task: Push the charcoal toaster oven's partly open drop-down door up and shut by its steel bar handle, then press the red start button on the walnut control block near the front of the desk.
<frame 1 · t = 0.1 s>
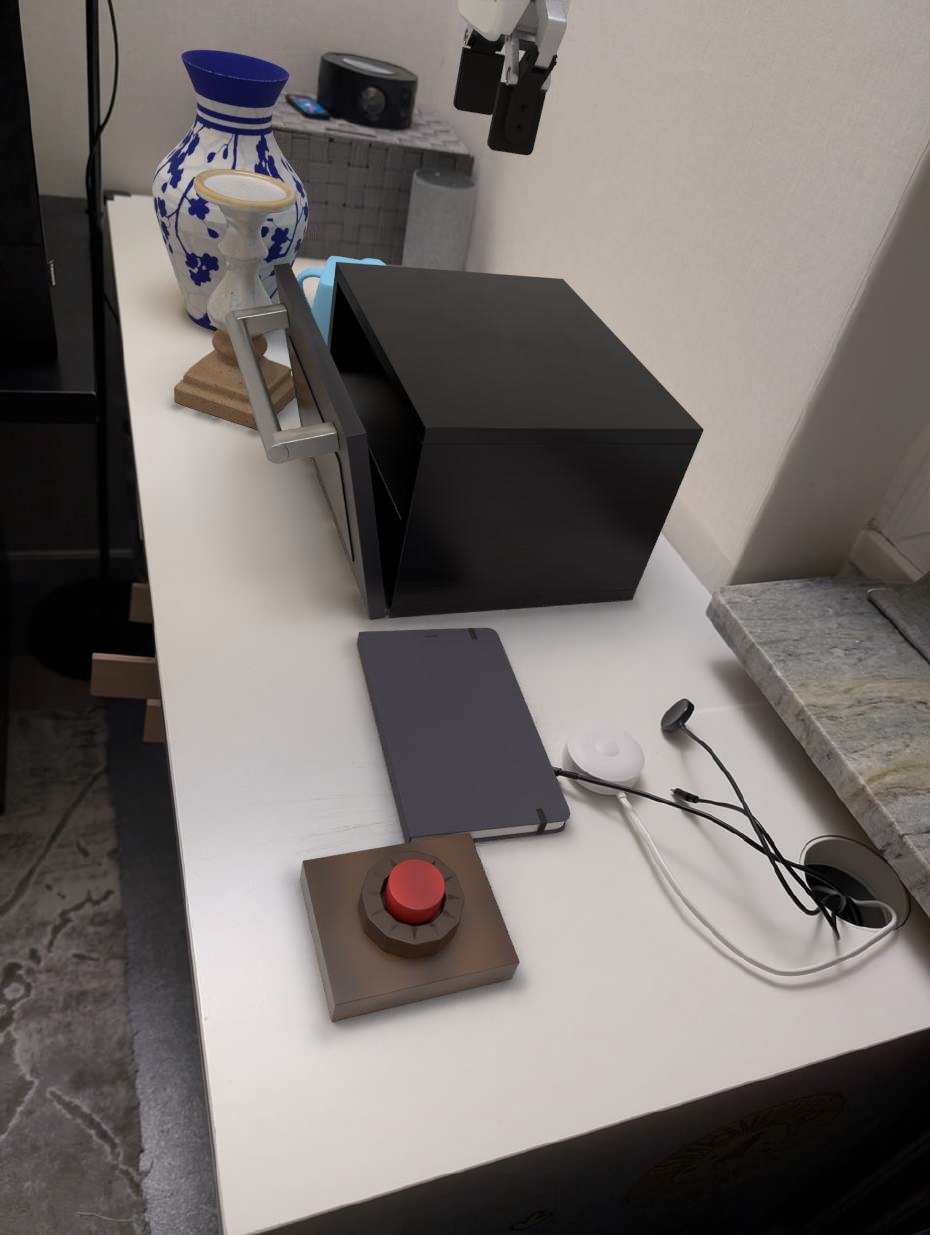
hand: (490, 130, 65), 39 cm above the table, tool pointing down, fingers open, 9 cm apart
oven: (465, 511, 98), on the table
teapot: (372, 366, 120), on the table
notebook: (454, 732, 74), on the table
start button: (414, 891, 57), point 4 cm above the table, slide at 0.1 cm
oven door: (297, 438, 85), point 9 cm above the table, hinge at 12.9°
control block: (403, 927, 60), on the table
vase: (229, 316, 122), on the table
candle holder: (237, 398, 107), on the table
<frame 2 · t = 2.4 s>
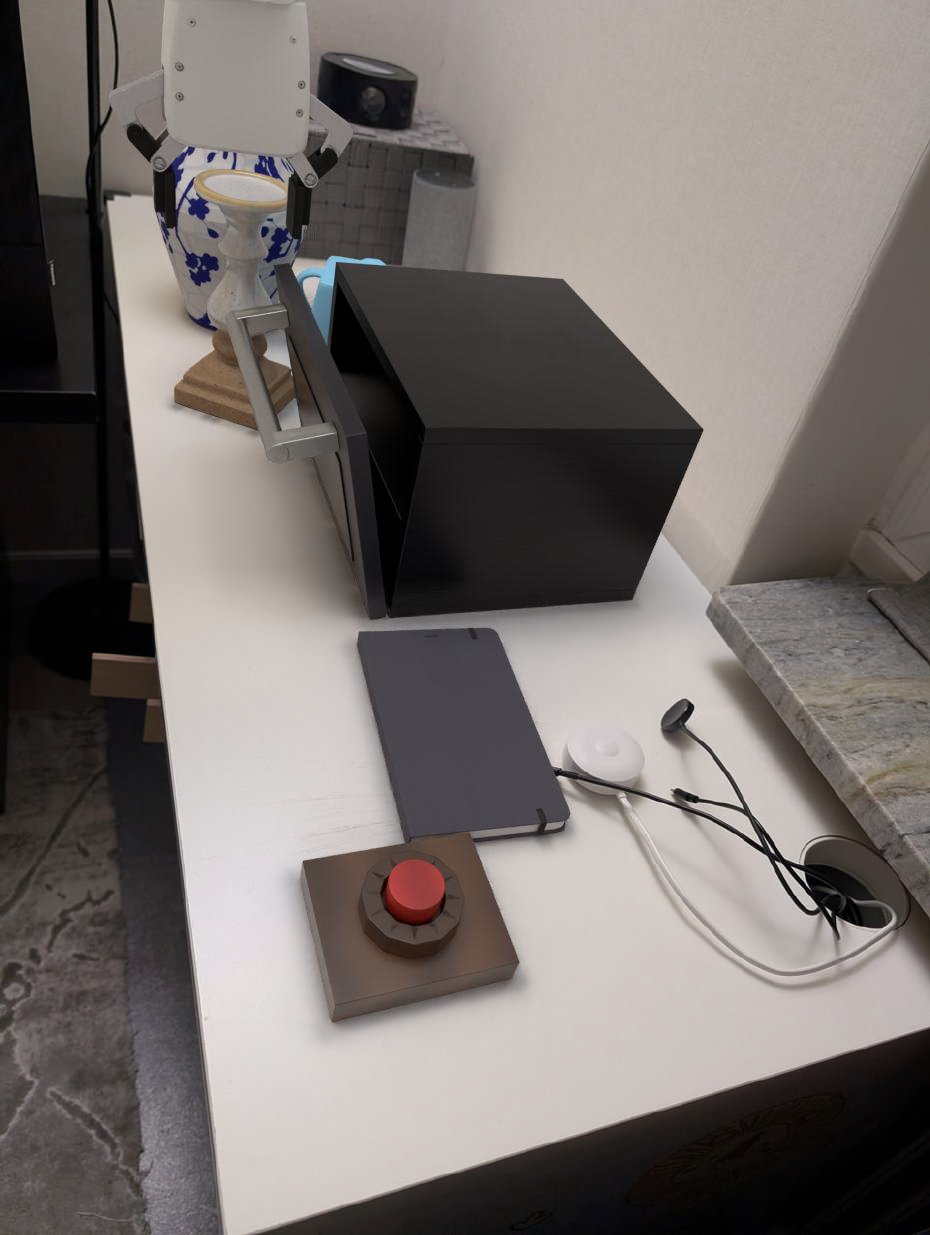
hand: (232, 227, 70), 28 cm above the table, tool pointing down, fingers open, 9 cm apart
nothing on the table moved.
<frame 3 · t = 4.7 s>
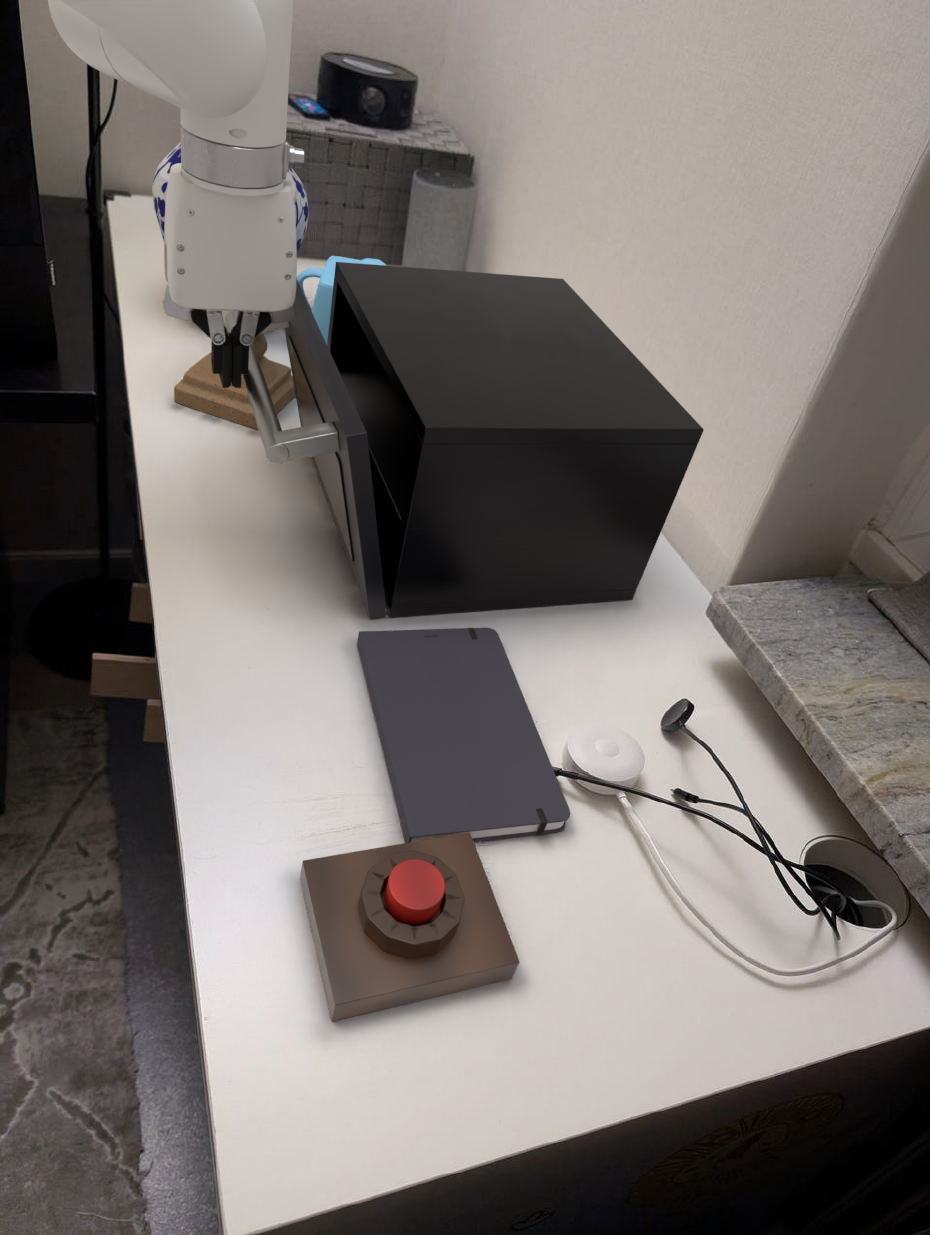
hand: (229, 379, 79), 15 cm above the table, tool pointing down, fingers closed
oven door: (297, 438, 85), point 9 cm above the table, hinge at 12.8°, touching gripper
everything else where it was.
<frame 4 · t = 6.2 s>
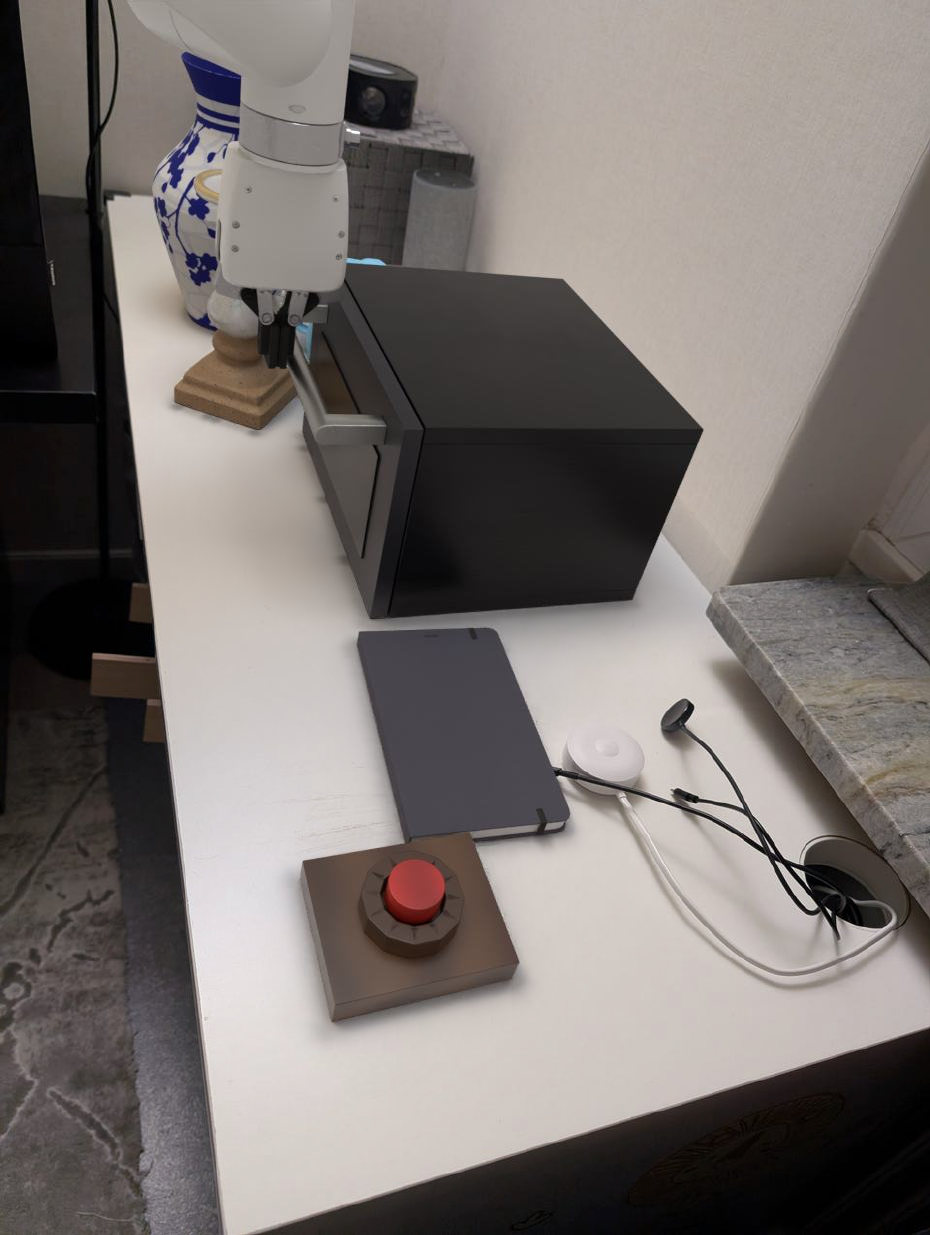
hand: (274, 361, 79), 17 cm above the table, tool pointing down, fingers closed
oven door: (320, 430, 85), point 10 cm above the table, hinge at -0.4°, touching gripper
everything else where it was.
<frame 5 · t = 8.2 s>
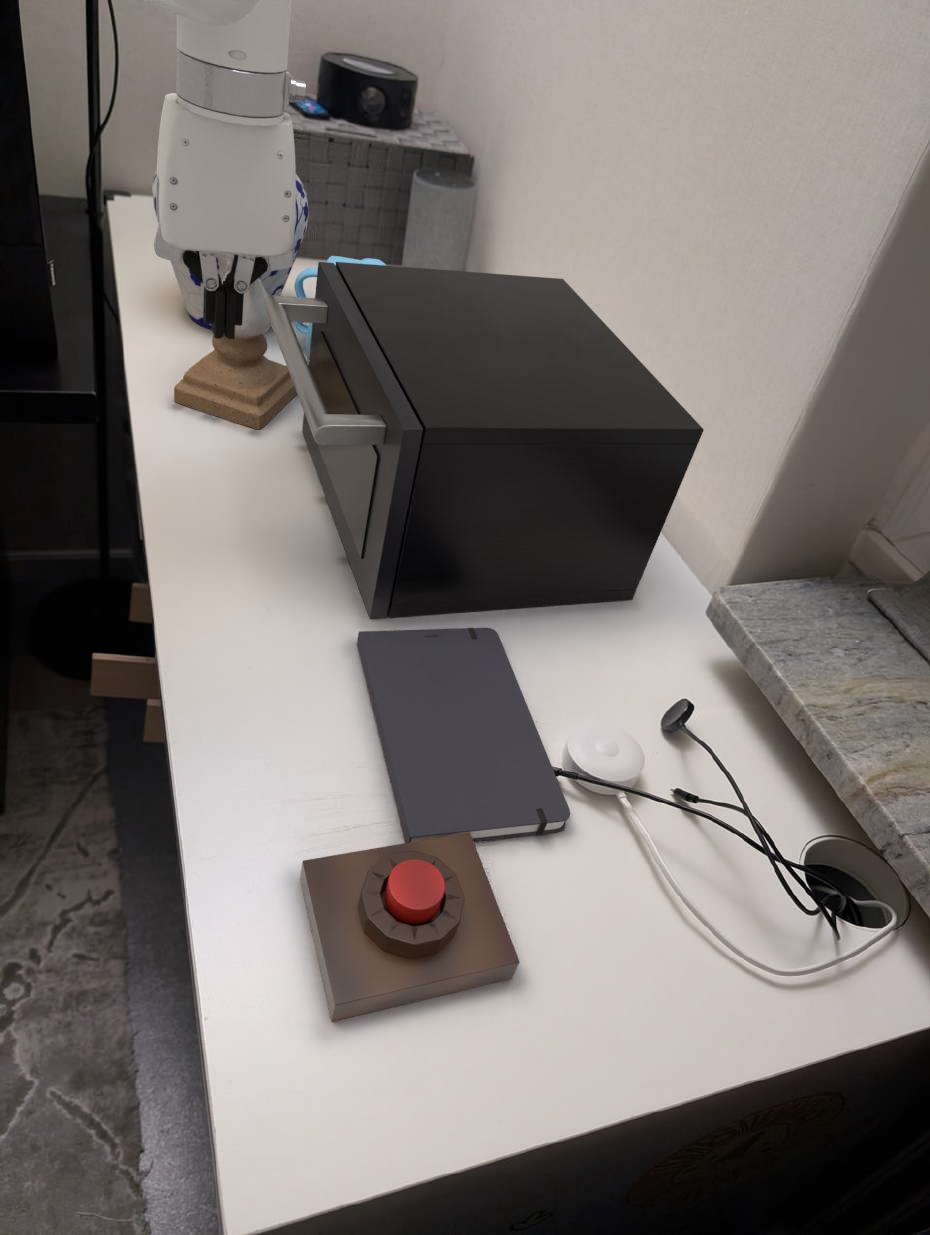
hand: (222, 331, 75), 20 cm above the table, tool pointing down, fingers closed
oven door: (320, 430, 85), point 10 cm above the table, hinge at -0.2°
everything else where it was.
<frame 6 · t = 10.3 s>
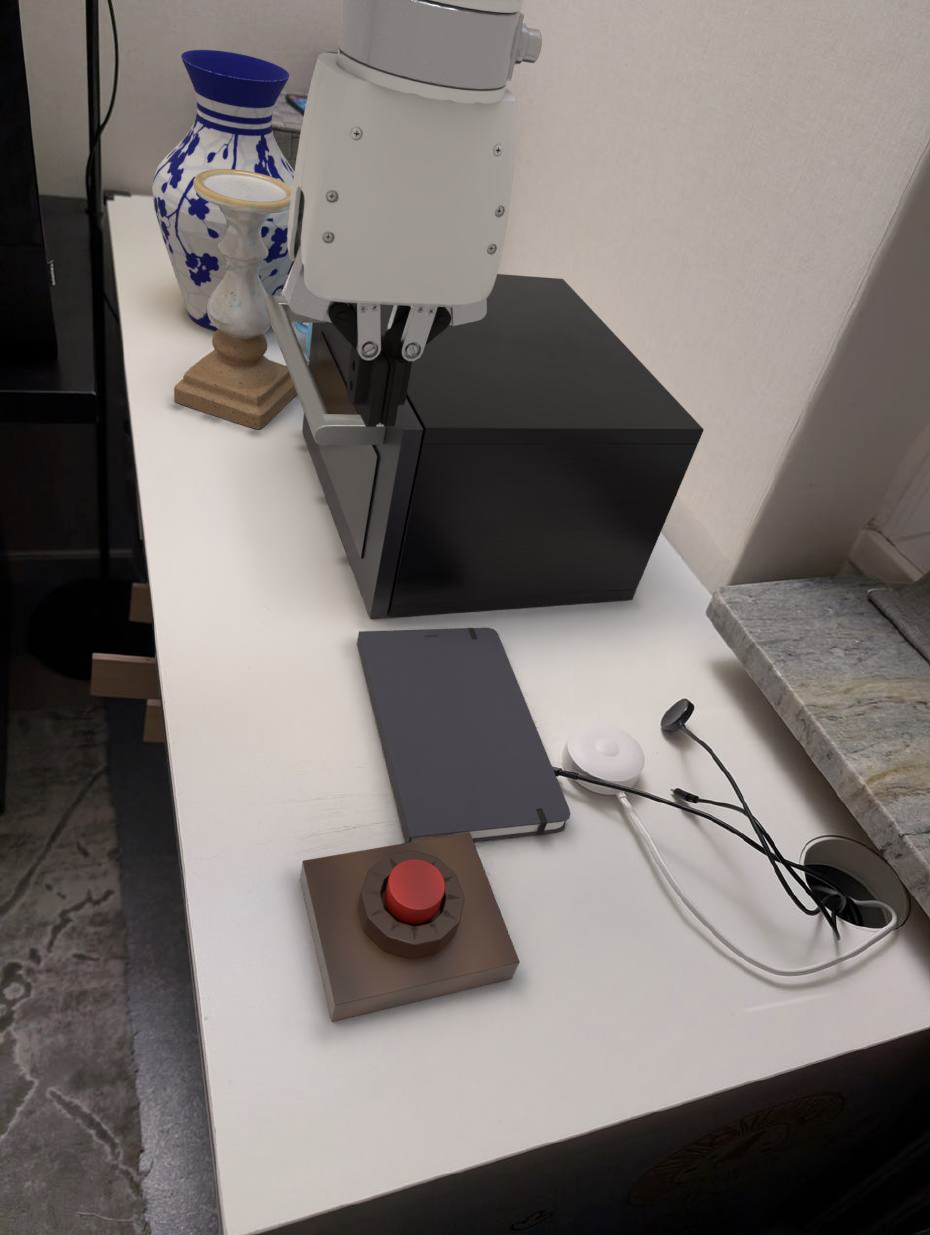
hand: (373, 413, 51), 29 cm above the table, tool pointing down, fingers closed
nothing on the table moved.
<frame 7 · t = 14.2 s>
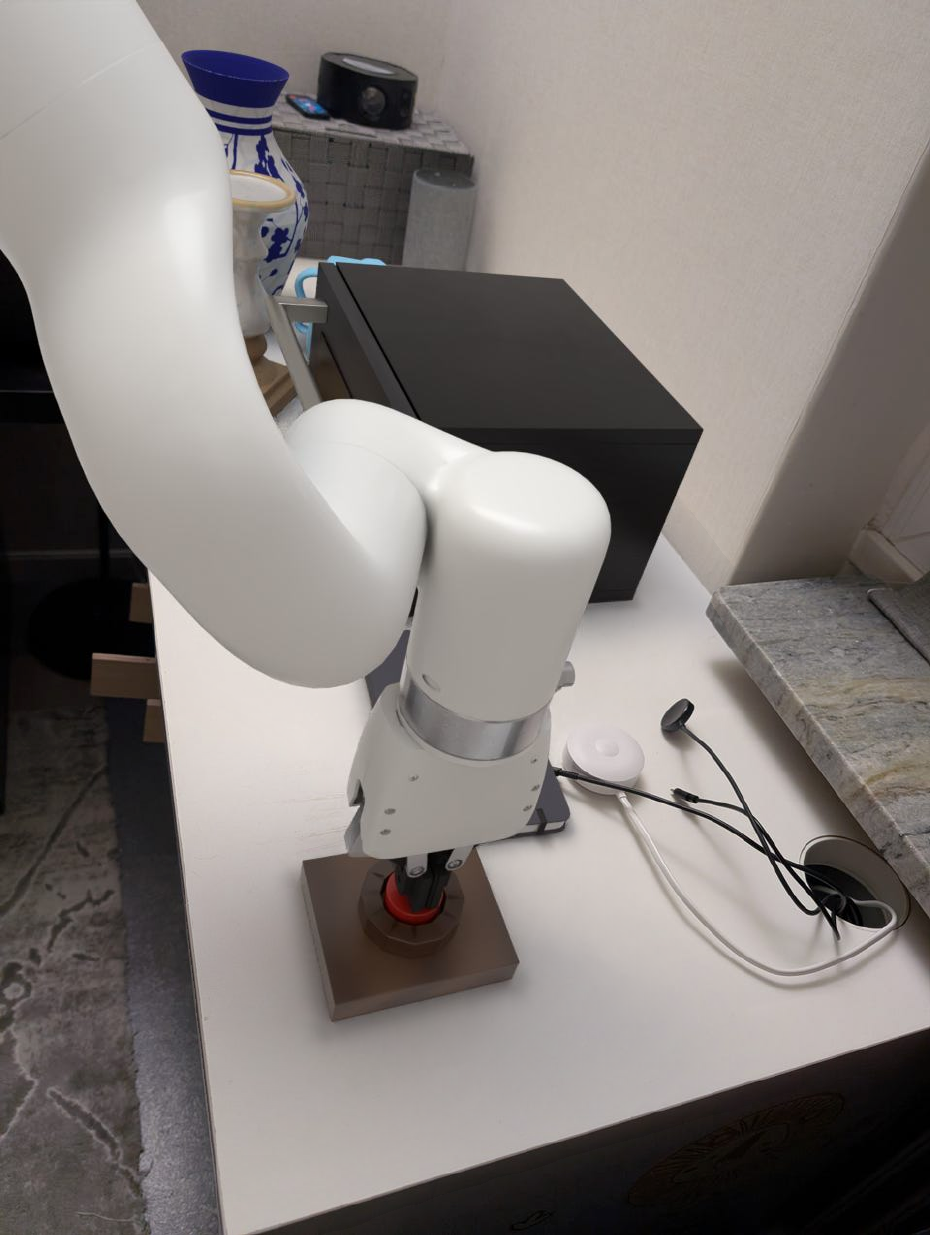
hand: (417, 890, 57), 5 cm above the table, tool pointing down, fingers closed
start button: (412, 897, 57), point 4 cm above the table, slide at -0.6 cm, touching gripper
everything else where it was.
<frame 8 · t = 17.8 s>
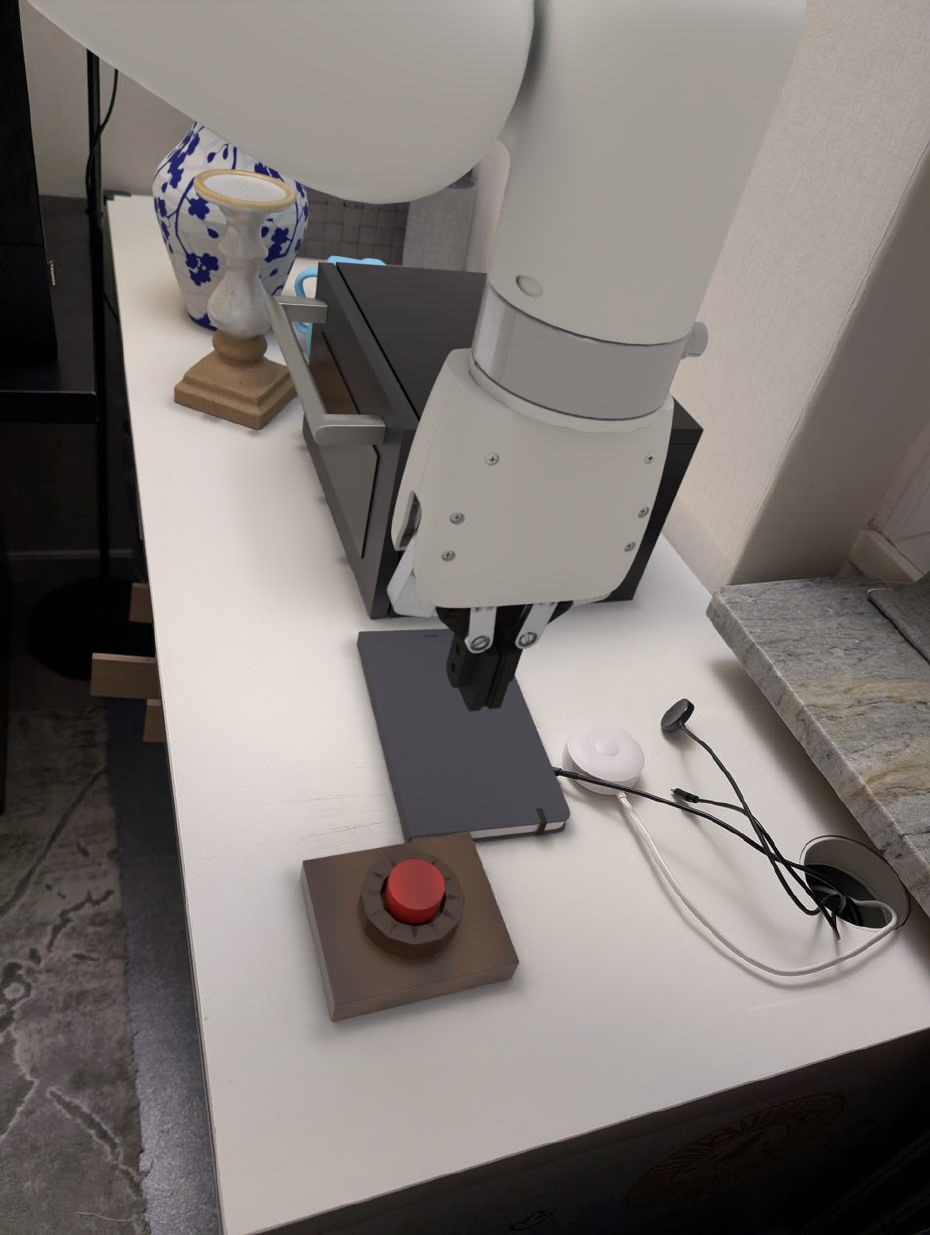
hand: (474, 688, 45), 23 cm above the table, tool pointing down, fingers closed
start button: (414, 891, 57), point 4 cm above the table, slide at 0.1 cm
everything else where it was.
at the end: oven door at +0° (first picture: +13°); start button pushed in 1.1 cm at the most during the clip, back to where it started at the end; start button slide at 0.1 cm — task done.
